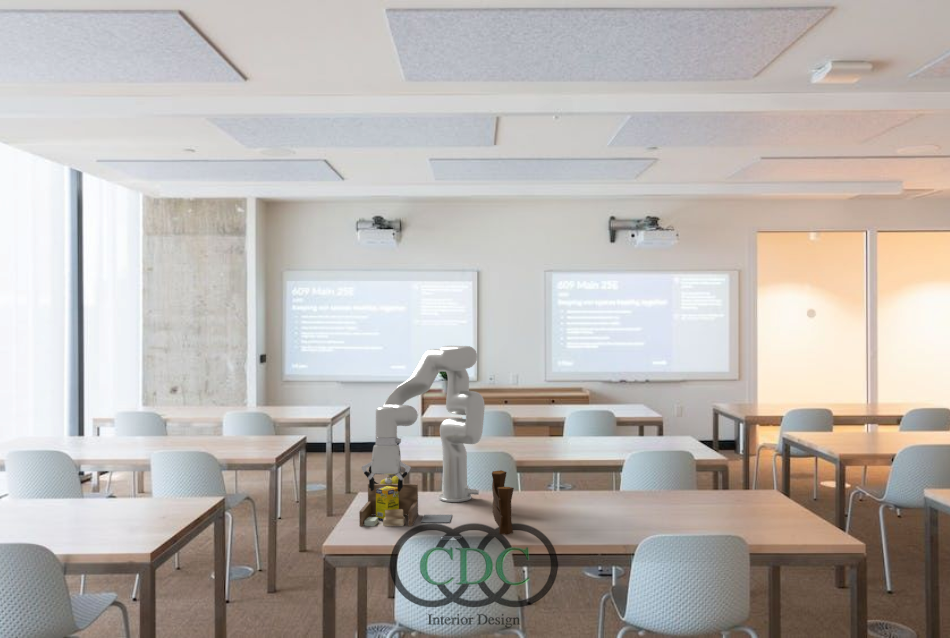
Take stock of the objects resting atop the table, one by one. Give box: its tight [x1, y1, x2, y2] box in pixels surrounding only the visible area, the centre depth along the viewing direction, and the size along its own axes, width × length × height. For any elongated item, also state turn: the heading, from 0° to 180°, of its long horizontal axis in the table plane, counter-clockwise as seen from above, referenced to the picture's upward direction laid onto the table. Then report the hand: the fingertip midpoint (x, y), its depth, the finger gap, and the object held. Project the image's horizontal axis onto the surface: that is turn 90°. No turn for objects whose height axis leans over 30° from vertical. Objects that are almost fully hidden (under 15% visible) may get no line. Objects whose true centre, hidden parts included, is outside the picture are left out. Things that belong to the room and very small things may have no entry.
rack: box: [358, 483, 419, 527], centre depth 264 cm, size 18×16×11 cm
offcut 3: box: [382, 516, 406, 527], centre depth 259 cm, size 7×4×2 cm, turn 86°
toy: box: [368, 466, 399, 484], centre depth 290 cm, size 6×14×15 cm
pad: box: [420, 514, 453, 524], centre depth 264 cm, size 10×10×1 cm
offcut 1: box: [364, 516, 379, 527], centre depth 259 cm, size 4×5×2 cm
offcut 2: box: [385, 509, 404, 520], centre depth 259 cm, size 6×4×2 cm, turn 100°
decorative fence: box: [491, 470, 515, 536], centre depth 259 cm, size 34×6×15 cm, turn 3°
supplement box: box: [375, 486, 399, 522], centre depth 266 cm, size 6×6×11 cm
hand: (385, 490), depth 265 cm, fingers open, 9 cm apart
